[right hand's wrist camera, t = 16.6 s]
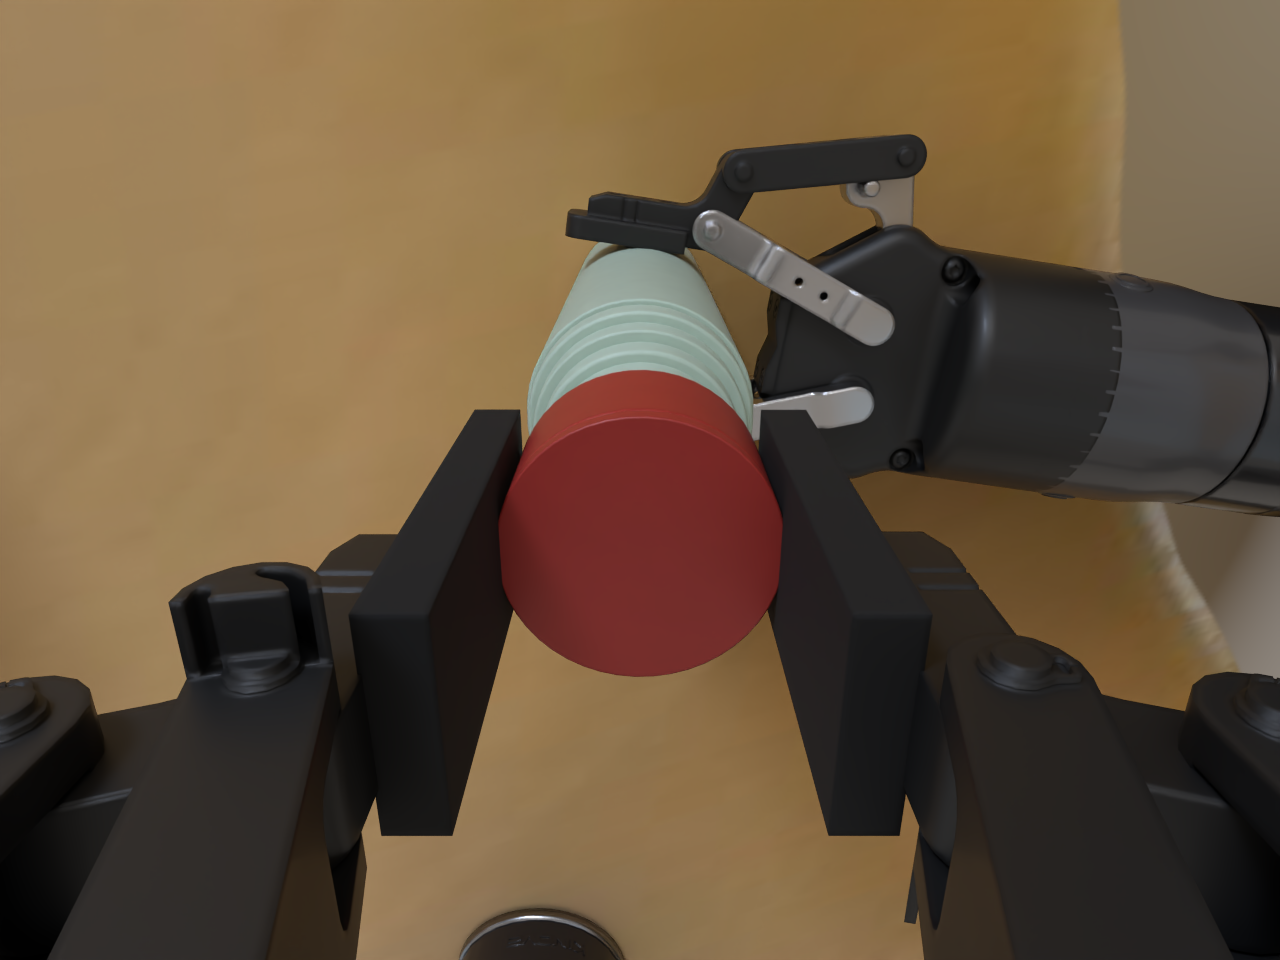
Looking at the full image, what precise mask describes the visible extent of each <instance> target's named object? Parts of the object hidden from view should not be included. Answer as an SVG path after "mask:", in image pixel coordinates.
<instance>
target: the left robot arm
mask: <svg viewBox="0 0 1280 960" xmlns="http://www.w3.org/2000/svg"><path fill="white" fill-rule="evenodd" d="M926 158H927V150H926V146H925V144H924V142H923V141H922V140H921V139H920V138H919V137H917V136H915V135H882V136H871V137H861V138H850V139H840V140H829V141H819V142H808V143H798V144H787V145H777V146H766V147H756V148H745V149H735V150H730V151H728V152H726V153H725V154H723V155H722V157H721V158H720V159H719V161H718V164H717V170H716V171H715V173H714V175H713V177H712V179H711V181H710V183H709V184H708V186H707V188H706V190H705V191H704V193H703V194H702V195H701V196H700V197H699V198H698V199H696V200H694V201H692V202H688V203H678V202H672V201H665V200H659V199H652V198H646V197H639V196H633V195H626V194H621V193H614V192H604V193H600V194H596V195H592V196H591V197H590V198H589V204H588V211H587V210H580V209H571V210H570V211H568V215H567V224H566V233H565V235H566V236H568V237H572V238H577V239H583V240H590V241H596V242H603V243H609V244H616V245H622V246H629V247H635V248H642V249H653V250H658V251H662V252H668V253H675V254H681V255H684V252H685V248H691V249H698V250H704V251H707V252H709V253H711V254H712V255H714V256H716V257H718V258H719V259H721V260H723V261H725V262H726V263H728V264H730V265H731V266H733V267H735V268H737V269H738V270H740V271H742V272H744V273H745V274H747V275H749V276H750V277H752V278H753V279H755V280H756V281H758V282H759V283H761V284H763V285H764V286H766V287H768V288H769V289H771V293H770V297H769V302H768V307H767V321H768V336H767V338H766V340H765V342H764V344H763V346H762V348H761V350H760V352H759V354H758V356H757V361H756V366H755V371H754V375H750V376H749V379H750V382H751V387H752V393H753V428H752V438H753V440H754V441H755V440H759V435H760V417H761V410H807V412H808V414H809V415H810V417H811V418H812V420H813V422H814V423H815V425H816V426H817V428H818V430H819V431H820V433H821V435H822V436H823V438H824V439H825V441H826V443H827V444H828V446H829V447H830V449H831V451H832V452H833V454H834V456H835V457H836V459H837V460H838V462H839V464H840V465H841V467H842V469H843V470H844V472H845V473H846V475H847V477H848V478H857V477H861V476H864V475H866V474H869V473H873V472H877V471H885V470H890V471H897V472H902V473H908V474H913V475H919V476H927V477H934V478H941V479H948V480H955V481H963V482H970V483H977V484H984V485H991V486H998V487H1005V488H1012V489H1020V490H1027V491H1034V492H1038V493H1041V494H1042V495H1044V496H1048V497H1053V498H1060V499H1067V498H1075V497H1077V498H1085V499H1093V500H1102V501H1112V502H1165V503H1175V504H1182V505H1189V506H1196V507H1203V508H1210V509H1217V510H1224V511H1231V512H1239V513H1245V514H1253V515H1262V516H1274V517H1280V307H1273V306H1267V305H1260V304H1254V303H1247V302H1241V301H1235V300H1228V299H1224V298H1219V297H1214V296H1211V295H1207V294H1204V293H1201V292H1197V291H1194V290H1192V289H1189V288H1185V287H1182V286H1179V285H1175V284H1172V283H1167V282H1163V281H1158V280H1153V279H1148V278H1142V277H1138V276H1135V275H1132V274H1127V273H1109V272H1103V271H1096V270H1090V269H1083V268H1077V267H1070V266H1065V265H1058V264H1052V263H1045V262H1038V261H1032V260H1026V259H1019V258H1013V257H1007V256H1000V255H994V254H988V253H981V252H975V251H969V250H962V249H956V248H950V247H945V246H940V245H938V244H937V243H935V242H934V241H932V240H931V239H930V238H929V237H928V236H927V235H925V234H924V233H923V232H922V231H921V230H919V229H917V228H915V227H913V201H914V175H916V174H917V173H918V172H919V171H920V170H921V169H922V168H923V166H924V164H925V162H926ZM839 184H840V192H841V195H842V197H843V199H844V200H845V201H846V202H847V203H848V204H851V205H853V206H857V207H861V208H867V209H869V210H870V211H871V212H872V213H873V215H874V217H875V221H876V226H874V227H872V228H870V229H868V230H866V231H864V232H862V233H860V234H858V235H856V236H854V237H852V238H850V239H848V240H846V241H844V242H843V243H841V244H839V245H837V246H835V247H833V248H831V249H829V250H827V251H825V252H823V253H821V254H819V255H817V256H815V257H813V258H811V259H809V260H806V259H804V258H803V257H801V256H799V255H798V254H796V253H794V252H792V251H791V250H789V249H787V248H786V247H784V246H782V245H781V244H779V243H777V242H775V241H774V240H772V239H770V238H769V237H767V236H765V235H763V234H761V233H760V232H758V231H756V230H754V229H753V228H751V227H749V226H748V225H746V224H744V223H742V222H741V221H739V218H740V216H741V215H742V213H743V211H744V209H745V207H746V206H747V204H748V202H749V200H750V199H751V197H752V195H753V193H754V192H765V191H775V190H786V189H797V188H807V187H818V186H829V185H839ZM757 391H758V394H754V393H755V392H757ZM459 960H624V959H623V956H622V953H621V951H620V949H619V947H618V946H617V944H616V943H615V941H614V940H613V939H612V938H611V936H610V935H609V934H608V933H607V932H605V931H604V930H603V929H602V928H600V927H599V926H598V925H596V924H594V923H593V922H591V921H589V920H587V919H585V918H583V917H580V916H578V915H575V914H572V913H568V912H564V911H560V910H553V909H523V910H517V911H512V912H508V913H505V914H502V915H500V916H497V917H495V918H493V919H491V920H489V921H487V922H485V923H484V924H482V925H481V926H480V927H478V928H477V929H476V930H475V931H474V932H473V933H472V934H471V935H470V936H469V938H468V939H467V940H466V942H465V944H464V946H463V948H462V950H461V953H460V957H459Z"/></svg>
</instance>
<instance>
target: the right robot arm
mask: <svg viewBox="0 0 1280 960" xmlns="http://www.w3.org/2000/svg"><path fill="white" fill-rule="evenodd" d="M521 455H522V435H521V417H520V410H474V412H473V414H472V415H471V417H470V418H469V420H468V422H467V423H466V425H465V426H464V428H463V430H462V431H461V433H460V435H459V436H458V438H457V439H456V441H455V443H454V444H453V446H452V447H451V449H450V451H449V452H448V454H447V456H446V457H445V459H444V460H443V462H442V464H441V465H440V467H439V469H438V470H437V472H436V473H435V475H434V477H433V478H432V480H431V481H430V483H429V485H428V486H427V488H426V490H425V491H424V493H423V494H422V496H421V498H420V499H419V501H418V502H417V504H416V506H415V507H414V509H413V511H412V512H411V514H410V515H409V517H408V519H407V520H406V522H405V524H404V525H403V527H402V528H401V530H400V532H399V533H398V534H359V535H357V536H356V537H354V538H352V539H351V540H349V541H347V542H346V543H344V544H342V545H341V546H339V547H338V548H336V549H334V550H333V551H331V552H330V553H329V555H328V556H327V557H326V559H325V560H324V561H323V563H322V564H321V565H320V566H319V568H318V569H317V570H316V572H314V571H313V570H311V569H310V568H309V567H306V566H302V565H297V564H293V563H288V562H261V563H255V564H249V565H243V566H237V567H232V568H229V569H226V570H223V571H220V572H217V573H213V574H210V575H207V576H205V577H203V578H201V579H199V580H197V581H195V582H194V583H192V584H190V585H188V586H186V587H184V588H183V589H182V590H181V591H180V592H179V593H178V594H177V595H176V596H175V597H174V598H172V599H171V600H170V601H169V602H168V603H169V607H170V611H171V615H172V619H173V623H174V627H175V632H176V636H177V640H178V644H179V648H180V652H181V656H182V661H183V665H184V669H185V673H186V677H187V680H186V682H185V684H184V686H183V688H182V690H181V692H180V694H179V696H178V698H177V699H174V700H170V701H166V702H162V703H158V704H152V705H147V706H142V707H136V708H131V709H126V710H121V711H115V712H110V713H105V714H100V715H97V712H96V709H95V706H94V702H93V699H92V695H91V692H90V689H89V688H88V687H86V686H85V685H84V684H83V683H81V682H80V681H79V680H77V679H72V678H66V677H60V676H44V677H33V678H28V677H26V678H20V679H14V680H10V682H8V683H6V681H5V682H2V683H0V960H356V954H357V946H358V938H359V929H360V921H361V913H362V904H363V896H364V888H365V879H366V871H367V865H366V858H365V851H364V845H363V839H362V833H361V831H362V829H363V826H364V824H365V821H366V819H367V816H368V814H369V811H370V809H371V806H372V804H373V801H374V799H375V797H376V803H377V809H378V816H379V823H380V829H381V836H452V835H453V832H454V828H455V824H456V820H457V817H458V813H459V809H460V806H461V802H462V798H463V795H464V791H465V787H466V783H467V780H468V776H469V772H470V769H471V765H472V761H473V758H474V754H475V750H476V746H477V743H478V739H479V735H480V732H481V728H482V724H483V721H484V717H485V713H486V709H487V706H488V702H489V698H490V695H491V691H492V687H493V684H494V680H495V676H496V672H497V669H498V665H499V661H500V658H501V654H502V650H503V647H504V643H505V639H506V635H507V632H508V628H509V624H510V621H511V617H512V613H513V610H514V609H513V607H512V605H511V604H510V602H509V600H508V599H507V596H506V594H505V591H504V589H503V584H502V571H501V557H500V542H499V527H498V519H499V515H500V512H501V509H502V506H503V503H504V500H505V498H506V495H507V492H508V490H509V487H510V484H511V482H512V479H513V476H514V474H515V471H516V469H517V466H518V463H519V461H520V458H521ZM759 455H760V458H761V460H762V463H763V465H764V468H765V471H766V473H767V476H768V478H769V481H770V484H771V486H772V489H773V491H774V494H775V497H776V499H777V502H778V504H779V507H780V510H781V514H782V518H783V527H782V542H781V556H780V570H779V584H778V590H777V593H776V595H775V597H774V598H773V600H772V602H771V604H770V606H769V608H768V614H769V617H770V621H771V625H772V628H773V632H774V636H775V639H776V643H777V647H778V650H779V654H780V658H781V662H782V665H783V669H784V673H785V676H786V680H787V684H788V687H789V691H790V695H791V699H792V702H793V706H794V710H795V713H796V717H797V721H798V724H799V728H800V732H801V736H802V739H803V743H804V747H805V750H806V754H807V758H808V761H809V765H810V769H811V772H812V776H813V780H814V784H815V787H816V791H817V795H818V798H819V802H820V806H821V809H822V813H823V817H824V821H825V824H826V828H827V832H828V835H829V836H900V829H901V822H902V816H903V809H904V802H905V796H906V795H907V797H908V800H909V802H910V805H911V807H912V809H913V812H914V814H915V817H916V819H917V822H918V824H919V833H918V839H917V845H916V851H915V857H914V864H913V870H912V876H911V882H910V888H909V894H908V901H907V907H906V914H905V920H904V922H907V923H913V924H916V918H917V913H918V911H919V919H920V928H921V936H922V944H923V952H924V960H1280V678H1277V679H1274V678H1273V676H1267V675H1262V674H1247V673H1236V672H1224V673H1217V674H1211V675H1205V676H1204V677H1203V678H1201V679H1200V680H1199V681H1197V682H1196V683H1195V684H1194V685H1193V686H1192V690H1191V693H1190V696H1189V700H1188V703H1187V706H1186V710H1185V711H1180V710H1175V709H1170V708H1164V707H1159V706H1154V705H1149V704H1143V703H1138V702H1133V701H1127V700H1122V699H1118V698H1114V697H1110V696H1106V695H1102V694H1101V692H1100V690H1099V688H1098V686H1097V684H1096V682H1095V680H1094V678H1093V677H1092V676H1091V675H1090V673H1089V672H1088V671H1087V670H1086V669H1085V667H1084V666H1083V665H1082V664H1081V663H1080V662H1079V661H1078V660H1076V659H1074V658H1073V657H1071V656H1070V655H1068V654H1067V653H1065V652H1064V651H1062V650H1060V649H1059V648H1056V647H1054V646H1051V645H1049V644H1046V643H1043V642H1041V641H1038V640H1036V639H1033V638H1029V637H1023V636H1018V635H1016V634H1015V632H1014V631H1013V630H1012V628H1011V627H1010V626H1009V625H1008V623H1007V622H1006V621H1005V619H1004V618H1003V617H1002V615H1001V614H1000V613H999V611H998V610H997V609H996V607H995V606H994V605H993V604H992V602H991V601H990V600H989V598H988V597H987V596H986V594H985V593H984V592H983V590H979V585H978V584H977V583H976V581H975V580H974V579H973V577H972V576H971V575H970V573H966V568H965V567H964V566H963V564H962V563H961V562H960V560H959V559H958V558H957V556H956V555H955V554H954V552H953V551H952V550H951V549H950V548H949V547H947V546H945V545H944V544H942V543H940V542H939V541H937V540H935V539H934V538H932V537H930V536H929V535H927V534H925V533H924V532H881V530H880V528H879V527H878V525H877V523H876V522H875V520H874V519H873V517H872V515H871V514H870V512H869V511H868V509H867V507H866V506H865V504H864V502H863V501H862V499H861V498H860V496H859V494H858V493H857V491H856V490H855V488H854V486H853V485H852V483H851V481H850V480H849V478H848V477H847V475H846V473H845V472H844V470H843V469H842V467H841V465H840V464H839V462H838V460H837V459H836V457H835V456H834V454H833V452H832V451H831V449H830V447H829V446H828V444H827V443H826V441H825V439H824V438H823V436H822V435H821V433H820V431H819V430H818V428H817V426H816V425H815V423H814V422H813V420H812V418H811V417H810V415H809V414H808V412H807V410H761V417H760V435H759Z"/></svg>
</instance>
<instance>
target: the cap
mask: <svg viewBox="0 0 1280 960" xmlns="http://www.w3.org/2000/svg"><path fill="white" fill-rule="evenodd" d="M498 527H499V542H500V557H501V571H502V584H503V589H504V591H505V594H506V596H507V599H508V600H509V602H510V604H511V605H512V607H513V609H514V611H515V612H516V614H517V615H518V617H519V618H520V619H521V621H522V622H523V623H524V624H525V626H526V627H527V628H528V629H529V630H530V631H531V632H532V633H533V634H534V635H535V636H536V637H537V638H538V639H539V640H540V641H542V642H543V643H544V644H545V645H547V646H548V647H549V648H550V649H552V650H553V651H555V652H557V653H558V654H560V655H562V656H563V657H565V658H567V659H568V660H571V661H573V662H575V663H577V664H580V665H582V666H584V667H587V668H590V669H594V670H597V671H600V672H605V673H609V674H614V675H622V676H633V677H644V676H659V675H667V674H672V673H677V672H681V671H685V670H688V669H691V668H694V667H696V666H699V665H702V664H704V663H706V662H708V661H710V660H712V659H714V658H716V657H718V656H720V655H722V654H723V653H725V652H726V651H728V650H729V649H731V648H732V647H734V646H735V645H736V644H737V643H738V642H740V641H741V640H742V639H743V638H744V637H745V636H747V635H748V634H749V632H750V631H751V630H752V629H753V628H754V627H755V626H756V625H757V624H758V622H759V621H760V620H761V618H762V617H763V615H764V614H765V612H766V611H767V610H768V608H769V606H770V604H771V602H772V600H773V598H774V597H775V595H776V593H777V590H778V584H779V570H780V556H781V542H782V527H783V518H782V514H781V510H780V507H779V504H778V502H777V499H776V497H775V494H774V491H773V489H772V486H771V484H770V481H769V478H768V476H767V473H766V471H765V468H764V465H763V463H762V460H761V458H760V455H759V452H758V450H757V447H756V445H755V443H754V440H753V438H752V435H751V434H750V432H749V430H748V429H747V427H746V425H745V424H744V422H743V421H742V419H741V418H740V417H739V416H738V414H737V413H736V412H735V411H734V409H733V408H731V407H730V406H729V405H728V404H727V403H726V402H725V401H724V400H723V399H722V398H721V397H719V396H718V395H716V394H715V393H714V392H712V391H711V390H709V389H708V388H706V387H704V386H702V385H701V384H698V383H697V382H695V381H692V380H690V379H687V378H684V377H682V376H679V375H675V374H671V373H666V372H661V371H652V370H627V371H621V372H615V373H610V374H606V375H603V376H600V377H596V378H594V379H592V380H589V381H587V382H585V383H582V384H580V385H579V386H577V387H575V388H574V389H572V390H570V391H569V392H567V393H566V394H564V395H563V396H562V397H561V398H560V399H558V400H557V401H556V402H555V403H554V404H553V405H552V406H551V407H550V408H549V409H548V410H547V411H546V412H545V413H544V414H543V415H542V417H541V418H540V420H539V421H538V422H537V424H536V425H535V427H534V428H533V430H532V432H531V434H530V436H529V438H528V440H527V442H526V445H525V447H524V450H523V453H522V455H521V458H520V461H519V463H518V466H517V469H516V471H515V474H514V476H513V479H512V482H511V484H510V487H509V490H508V492H507V495H506V498H505V500H504V503H503V506H502V509H501V512H500V515H499V519H498Z"/></svg>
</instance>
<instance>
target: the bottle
mask: <svg viewBox="0 0 1280 960" xmlns="http://www.w3.org/2000/svg"><path fill="white" fill-rule="evenodd" d="M627 370H652V371H661V372H666V373H671V374H675V375H679V376H682V377H684V378H687V379H690V380H692V381H695V382H697V383H698V384H701V385H702V386H704V387H706V388H708V389H709V390H711V391H712V392H714V393H715V394H716V395H718V396H719V397H721V398H722V399H723V400H724V401H725V402H726V403H727V404H728V405H729V406H730V407H731V408H733V409H734V411H735V412H736V413H737V414H738V416H739V417H740V418H741V419H742V421H743V422H744V424H745V425H746V427H747V429H748V430H749V432H750V434H751V435H752V428H753V393H752V387H751V382H750V379H749V375H748V372H747V369H746V367H745V365H744V363H743V360H742V358H741V356H740V354H739V352H738V350H737V348H736V345H735V343H734V341H733V339H732V337H731V335H730V333H729V331H728V328H727V326H726V324H725V322H724V320H723V318H722V316H721V314H720V312H719V309H718V307H717V305H716V303H715V301H714V299H713V297H712V295H711V293H710V290H709V288H708V286H707V284H706V282H705V280H704V278H703V276H702V274H701V271H700V269H699V267H698V265H697V263H696V261H695V259H694V257H693V256H692V254H691V252H690V251H689V250H688V249H687V248H685V252H684V255H681V254H675V253H668V252H662V251H658V250H653V249H642V248H635V247H629V246H622V245H616V244H609V243H603V242H598V243H597V244H596V245H595V246H594V248H593V249H592V250H591V251H590V253H589V254H588V256H587V257H586V259H585V261H584V263H583V266H582V268H581V270H580V272H579V274H578V276H577V278H576V281H575V283H574V285H573V287H572V289H571V291H570V293H569V296H568V298H567V300H566V302H565V304H564V306H563V308H562V310H561V313H560V315H559V317H558V319H557V321H556V323H555V325H554V328H553V330H552V332H551V334H550V336H549V338H548V340H547V343H546V345H545V347H544V349H543V351H542V353H541V355H540V358H539V360H538V362H537V364H536V366H535V368H534V371H533V374H532V378H531V381H530V385H529V391H528V398H527V414H528V430H529V436H530V434H531V432H532V430H533V428H534V427H535V425H536V424H537V422H538V421H539V420H540V418H541V417H542V415H543V414H544V413H545V412H546V411H547V410H548V409H549V408H550V407H551V406H552V405H553V404H554V403H555V402H556V401H557V400H558V399H560V398H561V397H562V396H563V395H564V394H566V393H567V392H569V391H570V390H572V389H574V388H575V387H577V386H579V385H580V384H582V383H585V382H587V381H589V380H592V379H594V378H596V377H600V376H603V375H606V374H610V373H615V372H621V371H627Z"/></svg>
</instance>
